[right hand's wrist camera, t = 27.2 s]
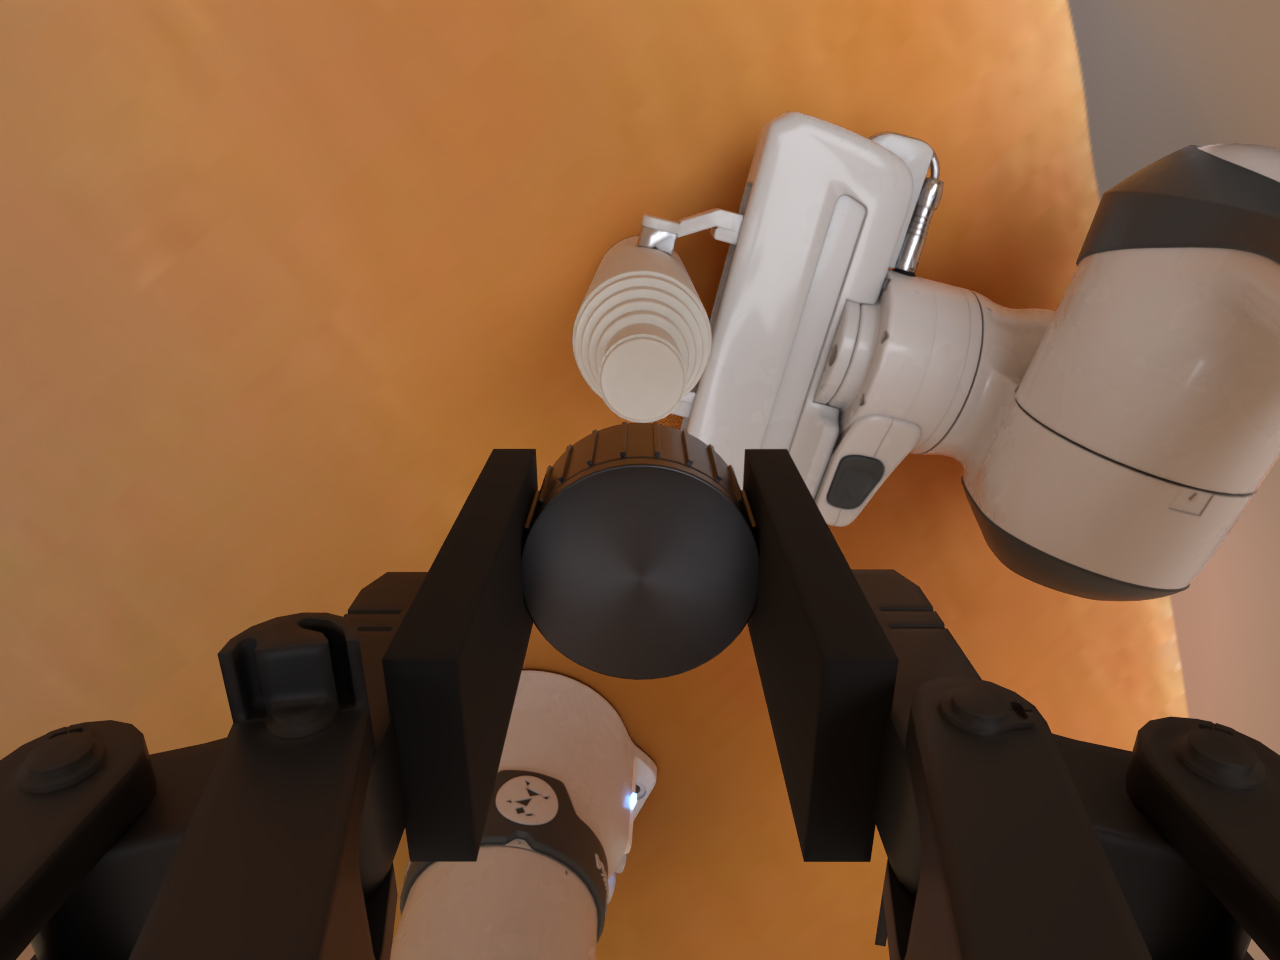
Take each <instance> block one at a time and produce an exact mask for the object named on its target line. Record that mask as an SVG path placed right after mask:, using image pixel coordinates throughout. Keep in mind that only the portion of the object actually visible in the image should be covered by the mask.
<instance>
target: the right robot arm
mask: <svg viewBox="0 0 1280 960" xmlns="http://www.w3.org/2000/svg"><path fill="white" fill-rule="evenodd" d="M536 490H538V485H537V465H536V449H493V451H492V453H491V455H490V457H489V458H488V460H487V462H486V464H485V466H484V468H483V470H482V472H481V474H480V475H479V477H478V479H477V481H476V483H475V485H474V487H473V489H472V491H471V492H470V494H469V496H468V498H467V500H466V502H465V504H464V506H463V508H462V509H461V511H460V513H459V515H458V517H457V519H456V521H455V523H454V524H453V526H452V528H451V530H450V532H449V534H448V536H447V538H446V540H445V541H444V543H443V545H442V547H441V549H440V551H439V553H438V555H437V557H436V558H435V560H434V562H433V564H432V566H431V568H430V570H429V572H387V573H385V574H384V575H382V576H381V577H380V578H378V579H377V580H375V581H374V582H372V583H371V584H369V585H368V586H366V587H365V588H363V589H362V590H361V591H360V593H359V594H358V596H357V597H356V599H355V600H354V602H353V603H352V605H351V606H350V608H349V609H348V614H345V615H344V617H341V616H337V615H333V614H330V613H299V614H293V615H288V616H282V617H277V618H274V619H271V620H268V621H266V622H263V623H260V624H257V625H255V626H252V627H250V628H248V629H247V630H245V631H243V632H242V633H240V634H239V635H237V636H235V637H234V638H232V639H230V641H229V642H228V643H227V644H226V645H225V646H224V647H223V648H222V650H221V651H220V652H219V653H218V658H219V662H220V667H221V671H222V675H223V680H224V684H225V688H226V693H227V697H228V702H229V706H230V710H231V715H232V719H233V725H232V728H231V730H230V732H229V734H228V737H227V738H223V739H219V740H216V741H212V742H208V743H204V744H200V745H195V746H190V747H185V748H180V749H176V750H171V751H166V752H161V753H156V754H151V755H149V753H148V749H147V746H146V742H145V739H144V735H143V734H142V733H141V732H140V731H139V730H138V729H137V728H136V727H134V726H133V725H132V724H128V723H123V722H118V721H113V720H107V721H96V722H84V723H80V724H75V725H70V727H63V728H60V729H57V730H54V731H51V732H49V733H47V734H46V735H44V736H41V737H39V738H37V739H35V740H33V741H31V742H28V743H26V744H24V745H22V746H21V747H19V748H18V749H16V750H15V751H13V752H12V753H10V754H9V755H8V756H6V757H5V758H3V759H2V760H0V960H16V959H17V958H18V956H19V955H20V954H21V953H22V952H23V951H24V949H25V948H26V947H27V946H28V945H29V943H30V942H31V944H32V947H33V949H34V952H35V955H34V956H33V957H32V958H31V960H390V957H391V948H392V939H393V930H394V921H395V912H396V903H397V888H396V881H395V874H394V867H393V859H394V856H395V854H396V851H397V848H398V845H399V843H400V840H401V837H402V834H403V831H404V829H405V828H406V835H407V842H408V849H409V856H410V862H476V861H477V857H478V853H479V849H480V844H481V840H482V836H483V832H484V828H485V823H486V819H487V815H488V811H489V807H490V802H491V798H492V794H493V790H494V785H495V781H496V777H497V773H498V769H499V764H500V760H501V756H502V752H503V748H504V743H505V739H506V735H507V731H508V726H509V722H510V718H511V714H512V710H513V705H514V701H515V697H516V693H517V689H518V684H519V680H520V676H521V672H522V667H523V663H524V659H525V655H526V651H527V646H528V642H529V638H530V634H531V630H532V625H533V620H532V619H531V617H530V615H529V613H528V611H527V608H526V606H525V603H524V599H523V584H522V568H521V551H522V546H523V542H524V539H525V536H526V533H527V532H524V527H525V524H526V520H527V517H528V514H529V511H530V508H531V505H532V502H533V499H534V496H535V493H536ZM743 490H745V493H746V496H747V499H748V502H749V505H750V508H751V511H752V514H753V517H754V520H755V523H756V526H757V531H754V532H755V536H756V539H757V542H758V546H759V550H760V560H759V576H758V593H757V603H756V606H755V609H754V611H753V613H752V615H751V617H750V619H749V621H748V622H747V623H748V627H749V632H750V636H751V640H752V644H753V649H754V653H755V657H756V661H757V665H758V670H759V674H760V678H761V682H762V686H763V691H764V695H765V699H766V703H767V707H768V712H769V716H770V720H771V724H772V729H773V733H774V737H775V741H776V745H777V750H778V754H779V758H780V762H781V766H782V771H783V775H784V779H785V783H786V788H787V792H788V796H789V800H790V804H791V809H792V813H793V817H794V821H795V825H796V830H797V834H798V838H799V842H800V846H801V851H802V855H803V859H804V862H870V860H871V853H872V846H873V839H874V832H875V825H876V826H877V829H878V832H879V834H880V837H881V840H882V843H883V845H884V848H885V851H886V854H887V856H888V861H887V867H886V874H885V880H884V887H883V894H882V900H881V907H880V913H879V920H878V926H877V934H876V941H875V945H880V946H886V940H887V937H888V946H889V955H890V960H1254V959H1253V958H1252V957H1251V955H1250V954H1249V953H1248V952H1247V948H1248V946H1249V944H1250V941H1251V938H1252V939H1253V940H1254V942H1255V943H1256V944H1257V945H1258V946H1259V947H1260V949H1261V950H1262V951H1263V952H1264V953H1265V955H1266V956H1267V957H1268V958H1269V959H1270V960H1280V755H1278V754H1277V753H1275V752H1274V751H1272V750H1271V749H1269V748H1268V747H1267V746H1265V745H1264V744H1262V743H1261V742H1259V741H1257V740H1255V739H1253V738H1250V737H1248V736H1246V735H1244V734H1242V733H1239V732H1237V731H1235V730H1234V729H1232V728H1230V727H1227V726H1224V725H1220V724H1217V723H1216V724H1214V723H1212V722H1209V721H1204V720H1199V719H1191V718H1180V717H1166V718H1161V719H1156V720H1151V721H1149V722H1148V723H1147V724H1145V725H1144V726H1143V727H1142V728H1141V729H1140V730H1139V731H1138V734H1137V737H1136V741H1135V745H1134V748H1133V752H1131V751H1127V750H1122V749H1117V748H1112V747H1107V746H1102V745H1098V744H1093V743H1088V742H1083V741H1078V740H1074V739H1070V738H1067V737H1063V736H1059V735H1056V734H1052V733H1051V731H1050V728H1049V726H1048V724H1047V722H1046V721H1045V719H1044V718H1043V717H1042V715H1041V714H1040V713H1039V711H1038V710H1037V709H1036V707H1035V706H1034V705H1032V704H1031V703H1029V702H1028V701H1027V700H1025V699H1024V698H1022V697H1021V696H1020V695H1018V694H1017V693H1015V692H1013V691H1011V690H1009V689H1006V688H1004V687H1001V686H999V685H997V684H994V683H992V682H988V681H983V680H982V679H981V678H980V676H979V675H978V673H977V672H976V670H975V669H974V667H973V666H972V664H971V663H970V661H969V660H968V658H967V657H966V655H965V654H964V653H963V651H962V650H961V648H960V647H959V645H958V644H957V642H956V641H955V639H954V638H953V636H952V635H951V633H950V632H949V630H948V629H945V627H944V623H943V621H942V620H941V618H940V617H939V615H938V614H937V612H936V611H933V607H932V605H931V604H930V602H929V601H928V599H927V598H926V596H925V595H924V593H923V592H922V590H921V589H920V587H919V586H917V585H916V584H914V583H913V582H911V581H910V580H908V579H907V578H905V577H904V576H902V575H901V574H899V573H898V572H896V571H895V570H851V569H850V567H849V565H848V563H847V561H846V559H845V557H844V555H843V554H842V552H841V550H840V548H839V546H838V544H837V542H836V540H835V539H834V537H833V535H832V533H831V531H830V529H829V527H828V525H827V523H826V522H825V520H824V518H823V516H822V514H821V512H820V510H819V508H818V506H817V505H816V503H815V501H814V499H813V497H812V495H811V493H810V491H809V490H808V488H807V486H806V484H805V482H804V480H803V478H802V476H801V474H800V473H799V471H798V469H797V467H796V465H795V463H794V461H793V459H792V458H791V456H790V454H789V452H788V450H787V449H745V456H744V475H743Z"/></svg>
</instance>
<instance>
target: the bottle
mask: <svg viewBox="0 0 1280 960" xmlns="http://www.w3.org/2000/svg"><path fill="white" fill-rule="evenodd" d="M638 237H639V236H635V237H630V238H627V239H624V240H622V241H620V242H618V243H617V244H615V245H614V246H613V247H612V248H610V249H609V251H608V252H607V253H606V254H605V255H604V257H603V258H602V260H601V262H600V264H599V267H598V269H597V271H596V273H595V276H594V278H593V280H592V282H591V285H590V287H589V289H588V291H587V293H586V296H585V298H584V300H583V302H582V305H581V307H580V309H579V311H578V313H577V316H576V319H575V323H574V328H573V337H572V343H573V352H574V357H575V360H576V363H577V366H578V368H579V370H580V372H581V374H582V376H583V378H584V379H585V381H586V382H587V384H588V385H589V386H590V387H591V389H592V390H593V391H594V392H595V393H596V394H597V395H599V396H600V397H601V398H602V399H603V401H604V402H605V403H606V404H607V406H608V407H609V408H610V410H612V411H613V412H614V413H615V414H617V415H618V416H619V417H621V418H624V419H626V420H629V421H631V422H639V423H647V422H654V421H657V420H660V419H662V418H665V417H666V416H668V415H669V414H670V413H672V412H673V411H674V410H675V409H676V408H677V407H678V405H679V404H680V403H681V402H680V400H681V399H682V398H683V397H684V396H686V395H687V394H688V393H689V392H690V391H691V390H692V389H693V388H694V387H695V385H696V384H697V383H698V381H699V380H700V378H701V376H702V374H703V372H704V371H705V369H706V366H707V364H708V361H709V357H710V353H711V346H712V333H711V326H710V322H709V319H708V316H707V313H706V311H705V309H704V306H703V304H702V302H701V300H700V298H699V296H698V294H697V292H696V290H695V287H694V285H693V283H692V281H691V279H690V277H689V275H688V273H687V271H686V268H685V266H684V264H683V262H682V260H681V258H680V257H679V255H678V254H677V253H676V251H675V250H674V249H673V252H672V254H669V253H665V252H662V251H659V250H658V249H657V248H656V247H653V248H645V247H641V246H638V245H637V242H638Z"/></svg>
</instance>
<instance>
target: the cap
mask: <svg viewBox="0 0 1280 960" xmlns="http://www.w3.org/2000/svg"><path fill="white" fill-rule="evenodd" d="M754 531H757V526H756V523H755V520H754V517H753V514H752V511H751V508H750V505H749V502H748V499H747V496H746V493H745V490H741V489H740V486H739V484H738V481H737V478H736V475H735V472H734V469H733V467H732V465H729V466H728V465H727V464H726V462H725V461H724V460H723V459H722V458H721V456H720V455H719V454H717V453H716V452H715V450H714V447H713V446H712V445H711V444H709V445H707V444H705V443H704V442H703V441H701V440H700V439H698V438H696V437H694V436H692V435H690V434H688V431H687V430H685V429H683V431H681V430H678V429H676V428H673V427H669V426H664V425H660V424H658V422H653V424H651V423H628V424H627V422H622V425H616V426H612V427H609V428H605V429H602V430H599V431H597V429H596V430H594V431H592V434H590V435H588V436H587V437H585V438H583V439H582V440H580V441H578V442H577V443H575V444H574V445H573V446H571V445H569V446H567V448H566V451H565V452H564V454H563V455H562V456H561V457H560V458H559V459H558V460H557V461H556V462H555V464H554V465H553V466H550V465H549V467H548V468H547V471H546V474H545V478H544V481H543V484H542V486H541V489H540V491H538V490H536V493H535V496H534V499H533V502H532V505H531V508H530V511H529V514H528V517H527V520H526V524H525V527H524V532H527V533H526V536H525V539H524V542H523V546H522V551H521V568H522V584H523V599H524V603H525V606H526V608H527V611H528V613H529V615H530V617H531V619H532V620H533V622H534V624H535V625H536V627H537V629H538V630H539V631H540V632H541V634H542V635H543V636H544V638H545V639H546V640H547V641H548V642H549V643H550V644H551V645H552V646H553V647H554V648H555V649H556V650H558V651H559V652H560V653H562V654H563V655H564V656H566V657H567V658H569V659H570V660H572V661H574V662H575V663H577V664H579V665H581V666H583V667H585V668H587V669H590V670H592V671H594V672H598V673H601V674H604V675H607V676H612V677H617V678H623V679H636V680H641V679H657V678H664V677H669V676H673V675H677V674H681V673H684V672H686V671H689V670H692V669H694V668H696V667H698V666H700V665H702V664H704V663H706V662H708V661H709V660H711V659H712V658H714V657H715V656H717V655H718V654H720V653H721V652H722V651H723V650H724V649H725V648H727V647H728V646H729V645H730V644H731V643H732V642H733V641H734V640H735V639H736V637H737V636H738V635H739V634H740V633H741V631H742V630H743V628H744V627H745V625H746V624H747V622H748V621H749V619H750V617H751V615H752V613H753V611H754V609H755V606H756V603H757V593H758V576H759V560H760V550H759V546H758V542H757V539H756V536H755V532H754Z"/></svg>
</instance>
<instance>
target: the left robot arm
mask: <svg viewBox="0 0 1280 960" xmlns="http://www.w3.org/2000/svg"><path fill="white" fill-rule="evenodd" d="M929 166H930V167H931V176H930V178H927V177H926V174H927V171H928V169H929ZM939 176H940V166H939V161H938V158H937V155H936V153H935V151H934V150H933V148H932V147H931V146H930V145H929V144H927V143H926V142H924V141H923V140H921V139H918V138H914V137H910V136H906V135H903V134H899V133H895V132H881V133H877V134H874V135H872V136H870V137H869V138H866V137H864V136H861V135H859V134H857V133H855V132H853V131H850V130H848V129H845V128H843V127H841V126H838V125H836V124H833V123H830V122H828V121H825V120H822V119H819V118H816V117H813V116H810V115H807V114H803V113H800V112H793V111H789V112H784V113H782V114H780V115H778V116H776V117H774V118H773V119H771V120H770V121H769V122H767V123H766V124H764V126H763V127H762V128H761V131H760V134H759V137H758V141H757V145H756V148H755V152H754V156H753V159H752V163H751V167H750V171H749V174H748V178H747V182H746V186H745V189H744V193H743V197H742V201H741V204H740V208H739V212H738V213H735V212H731V211H727V210H723V209H719V208H714V209H711V210H707V211H704V212H701V213H698V214H695V215H692V216H688V217H685V218H682V219H679V221H678V222H676V221H672V220H668V219H665V218H661V217H657V216H653V215H647V214H643V219H642V224H641V228H640V232H639V237H638V242H637V245H638V246H641V247H645V248H653V247H656V248H657V249H658V250H659V251H662V252H665V253H669V254H672V252H673V249H674V245H675V241H676V237H677V238H679V237H682V236H685V235H689V234H692V233H695V232H699V231H702V230H705V229H708V228H712V229H711V232H710V234H711V236H712V237H713V238H714V239H716V240H719V241H723V242H727V243H730V245H729V249H728V253H727V257H726V260H725V264H724V268H723V271H722V275H721V279H720V283H719V286H718V290H717V294H716V298H715V301H714V305H713V309H712V312H711V316H710V320H709V322H710V326H711V333H712V346H711V353H710V357H709V361H708V364H707V366H706V369H705V371H704V372H703V374H702V376H701V378H700V380H699V381H698V383H697V384H696V385H695V387H694V388H693V389H692V390H691V391H690V392H689V393H688V394H687V395H686V396H684V397H683V398H682V399H681V400H680V402H681V403H680V404H679V405H678V407H677V408H676V409H675V410H674V411H673V412H672V413H670V414H674V415H678V416H683V421H682V424H681V428H680V430H681V431H683V429H685V430H687V431H688V434H690V435H692V436H694V437H696V438H698V439H700V440H701V441H703V442H704V443H705V444H707V445H709V444H711V445H712V446H713V447H714V450H715V452H716V453H717V454H719V455H720V456H721V458H722V459H723V460H724V461H725V462H726V464H727V465H728V466H729V465H732V467H733V469H734V472H735V475H736V478H737V481H738V484H739V486H740V489H741V490H743V475H744V456H745V449H787V450H788V452H789V454H790V456H791V458H792V459H793V461H794V463H795V465H796V467H797V469H798V471H799V473H800V474H801V476H802V478H803V480H804V482H805V484H806V486H807V488H808V490H809V491H810V493H811V495H812V497H813V499H814V501H815V503H816V505H817V506H818V508H819V510H820V512H821V514H822V516H823V518H824V520H825V522H826V523H827V524H828V525H831V526H836V527H844V526H847V525H849V524H850V523H851V522H853V521H854V520H855V519H856V517H857V516H858V515H859V514H860V513H861V511H862V510H863V509H864V507H865V506H866V505H867V503H868V502H869V501H870V499H871V498H872V497H873V495H874V494H875V493H876V492H877V490H878V489H879V488H880V486H881V485H882V484H883V483H884V481H885V480H886V479H887V478H888V477H889V475H890V474H891V473H892V472H893V471H894V469H895V468H896V467H897V466H898V465H899V464H900V462H901V461H902V460H903V459H904V458H905V457H906V456H907V455H908V454H909V453H912V454H920V455H931V454H932V455H944V456H949V457H951V458H954V459H955V460H957V461H958V462H960V463H961V464H962V466H963V468H964V476H962V478H961V479H962V484H963V487H964V490H965V493H966V496H967V499H968V501H969V503H970V506H971V508H972V511H973V513H974V515H975V518H976V520H977V522H978V524H979V527H980V529H981V531H982V533H983V536H984V538H985V540H986V542H987V544H988V546H989V548H990V549H991V550H992V552H993V553H994V554H995V555H996V557H997V558H998V559H999V560H1000V561H1001V562H1002V563H1003V564H1004V565H1005V566H1006V567H1008V568H1009V569H1010V570H1012V571H1013V572H1015V573H1017V574H1018V575H1020V576H1022V577H1024V578H1026V579H1028V580H1031V581H1033V582H1035V583H1038V584H1040V585H1043V586H1045V587H1048V588H1051V589H1054V590H1057V591H1060V592H1063V593H1067V594H1070V595H1074V596H1078V597H1082V598H1087V599H1093V600H1101V601H1140V600H1148V599H1155V598H1161V597H1165V596H1168V595H1172V594H1175V593H1178V592H1180V591H1183V590H1185V589H1187V588H1188V587H1189V586H1190V583H1191V581H1192V580H1193V579H1194V578H1195V577H1196V576H1197V575H1198V574H1199V573H1200V572H1201V571H1202V569H1203V568H1204V567H1205V566H1206V565H1207V563H1208V562H1209V561H1210V559H1211V558H1212V556H1213V555H1214V554H1215V552H1216V551H1217V549H1218V548H1219V546H1220V545H1221V544H1222V542H1223V541H1224V539H1225V538H1226V537H1227V535H1228V534H1229V532H1230V531H1231V529H1232V528H1233V526H1234V525H1235V524H1236V522H1237V521H1238V519H1239V518H1240V516H1241V515H1242V513H1243V512H1244V511H1245V509H1246V508H1247V506H1248V505H1249V503H1250V502H1251V501H1252V499H1253V498H1254V496H1255V495H1256V493H1257V490H1258V487H1259V486H1260V485H1261V483H1262V482H1263V480H1264V479H1265V477H1266V476H1267V474H1268V473H1269V471H1270V470H1271V468H1272V467H1273V465H1274V464H1275V463H1276V461H1277V460H1278V458H1279V457H1280V149H1279V148H1273V147H1268V146H1261V145H1252V144H1214V145H1207V146H1202V147H1200V146H1194V145H1190V146H1188V147H1185V148H1183V149H1181V150H1178V151H1176V152H1174V153H1172V154H1170V155H1168V156H1166V157H1164V158H1162V159H1160V160H1158V161H1156V162H1154V163H1152V164H1150V165H1148V166H1147V167H1145V168H1143V169H1141V170H1140V171H1138V172H1136V173H1135V174H1133V175H1132V176H1130V177H1128V178H1127V179H1125V180H1123V181H1122V182H1120V183H1119V184H1117V185H1116V186H1114V187H1113V188H1111V189H1110V190H1108V191H1107V192H1105V193H1104V194H1103V196H1102V199H1101V201H1100V204H1099V206H1098V209H1097V212H1096V214H1095V217H1094V219H1093V222H1092V224H1091V227H1090V229H1089V232H1088V234H1087V237H1086V239H1085V242H1084V244H1083V247H1082V249H1081V252H1080V254H1079V257H1078V259H1077V263H1076V264H1077V269H1076V271H1075V273H1074V275H1073V277H1072V279H1071V281H1070V283H1069V285H1068V287H1067V289H1066V292H1065V294H1064V296H1063V298H1062V300H1061V302H1060V304H1059V306H1058V308H1057V310H1056V311H1053V310H1048V309H1042V308H1028V309H1014V308H1007V307H1004V306H1001V305H999V304H996V303H994V302H993V301H991V300H990V299H988V298H987V297H985V296H983V295H981V294H980V293H978V292H975V291H973V290H969V289H965V288H961V287H957V286H953V285H949V284H945V283H941V282H937V281H933V280H929V279H925V278H921V277H918V276H916V275H914V274H915V270H916V268H917V265H918V262H919V259H920V256H921V253H922V250H923V247H924V244H925V241H926V236H927V230H928V228H929V226H928V225H929V224H930V222H931V220H930V219H932V216H933V213H934V210H936V209H937V207H938V205H939V202H940V200H941V196H942V193H943V187H944V182H943V181H941V180H939ZM925 177H926V178H925ZM889 267H890V268H895V269H893V271H892V270H889V269H888V268H889ZM656 779H657V767H656V765H655V763H654V762H653V761H652V760H651V759H650V758H649V757H648V756H647V755H646V754H645V753H644V752H643V751H642V750H640V749H639V748H638V747H637V746H635V745H634V743H633V742H632V740H631V738H630V737H629V735H628V732H627V730H626V728H625V726H624V724H623V722H622V720H621V718H620V717H619V715H618V713H617V712H616V711H615V709H614V708H613V707H612V706H611V705H610V704H609V703H608V702H607V701H606V700H605V699H604V698H603V697H602V696H601V695H599V694H598V693H597V692H596V691H594V690H593V689H591V688H589V687H588V686H586V685H584V684H582V683H580V682H578V681H576V680H574V679H571V678H569V677H566V676H562V675H559V674H555V673H550V672H544V671H533V670H522V672H521V676H520V680H519V684H518V689H517V693H516V697H515V701H514V705H513V710H512V714H511V718H510V722H509V726H508V731H507V735H506V739H505V743H504V748H503V752H502V756H501V760H500V764H499V769H498V773H497V777H496V781H495V785H494V790H493V794H492V798H491V802H490V807H489V811H488V815H487V819H486V823H485V828H484V832H483V836H482V840H481V844H480V849H479V853H478V857H477V861H476V862H410V860H409V862H408V866H407V869H406V872H405V876H404V877H405V879H404V883H403V889H402V893H401V901H400V910H401V919H400V922H399V925H398V928H397V932H396V935H395V938H394V941H393V944H392V948H391V957H390V960H596V944H597V942H598V941H599V938H600V936H601V934H602V932H603V927H604V920H605V914H606V912H607V905H608V903H609V902H610V900H611V898H612V895H613V892H614V888H615V883H616V873H619V874H620V873H622V872H623V870H624V867H625V864H626V858H627V856H626V854H628V853H629V852H630V849H631V844H632V833H633V821H634V820H635V818H636V816H637V815H638V813H639V811H640V809H641V808H642V806H643V804H644V803H645V801H646V799H647V798H648V796H649V794H650V792H651V791H652V789H653V787H654V786H655V783H656ZM636 785H638V786H637V787H636Z"/></svg>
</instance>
